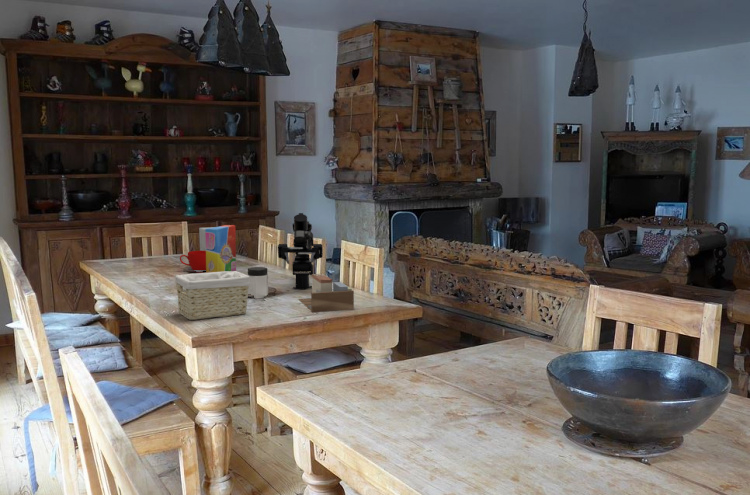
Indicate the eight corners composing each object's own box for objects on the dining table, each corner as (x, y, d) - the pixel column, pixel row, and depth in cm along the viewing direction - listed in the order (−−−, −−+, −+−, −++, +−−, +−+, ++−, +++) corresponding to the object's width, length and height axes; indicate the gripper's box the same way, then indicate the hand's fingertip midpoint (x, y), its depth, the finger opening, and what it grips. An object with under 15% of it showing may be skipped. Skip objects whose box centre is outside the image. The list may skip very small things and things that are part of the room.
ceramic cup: (179, 270, 345) (179, 251, 343) (213, 269, 350) (212, 250, 348) (180, 274, 332) (179, 254, 331) (215, 272, 337) (214, 253, 336)
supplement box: (228, 258, 389) (227, 228, 387) (205, 259, 383) (205, 229, 380) (221, 255, 401) (220, 226, 398) (199, 257, 394) (198, 227, 392)
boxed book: (312, 298, 270) (312, 274, 269) (323, 298, 271) (323, 273, 270) (320, 305, 257) (320, 280, 255) (332, 304, 258) (332, 279, 257)
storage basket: (236, 306, 259) (235, 269, 258) (252, 314, 246) (251, 275, 244) (174, 313, 247) (173, 274, 245) (188, 322, 233) (186, 281, 231)
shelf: (298, 301, 269) (297, 282, 268) (336, 299, 274) (336, 280, 273) (312, 314, 246) (312, 293, 245) (353, 311, 251) (353, 291, 250)
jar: (243, 297, 277) (242, 268, 275) (255, 294, 284) (255, 266, 282) (260, 299, 272) (259, 270, 271) (272, 296, 280) (272, 268, 278)
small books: (333, 303, 260) (333, 282, 259) (344, 303, 262) (344, 281, 261) (340, 309, 251) (340, 286, 250) (351, 308, 252) (351, 286, 251)
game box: (217, 291, 290) (216, 229, 286) (206, 290, 291) (204, 228, 287) (236, 282, 310) (235, 224, 306) (225, 282, 311) (224, 224, 308)
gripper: (278, 225, 281) (275, 247, 269) (322, 225, 282) (321, 247, 270) (279, 246, 288) (277, 269, 276) (322, 246, 289) (322, 268, 277)
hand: (299, 263), depth 274 cm, fingers open, 9 cm apart
